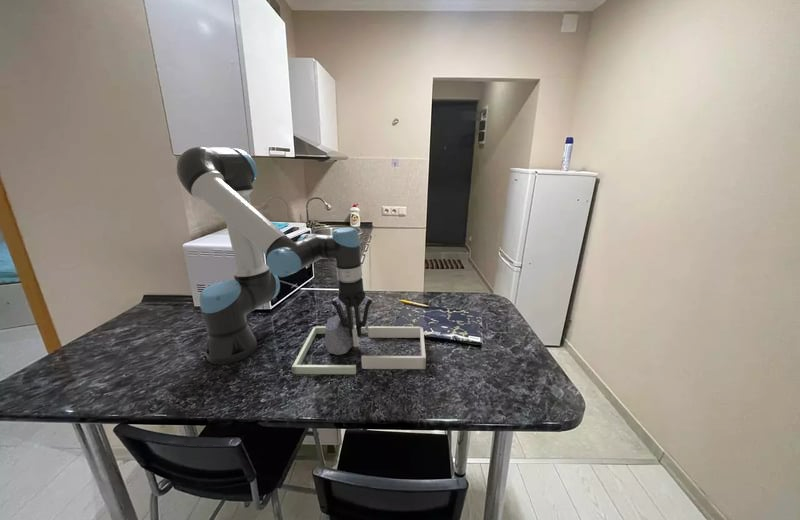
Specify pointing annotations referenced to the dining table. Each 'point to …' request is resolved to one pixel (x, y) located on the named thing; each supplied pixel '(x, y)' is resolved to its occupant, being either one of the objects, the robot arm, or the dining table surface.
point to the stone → (337, 336)
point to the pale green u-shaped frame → (320, 369)
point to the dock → (395, 361)
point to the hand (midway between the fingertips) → (356, 344)
